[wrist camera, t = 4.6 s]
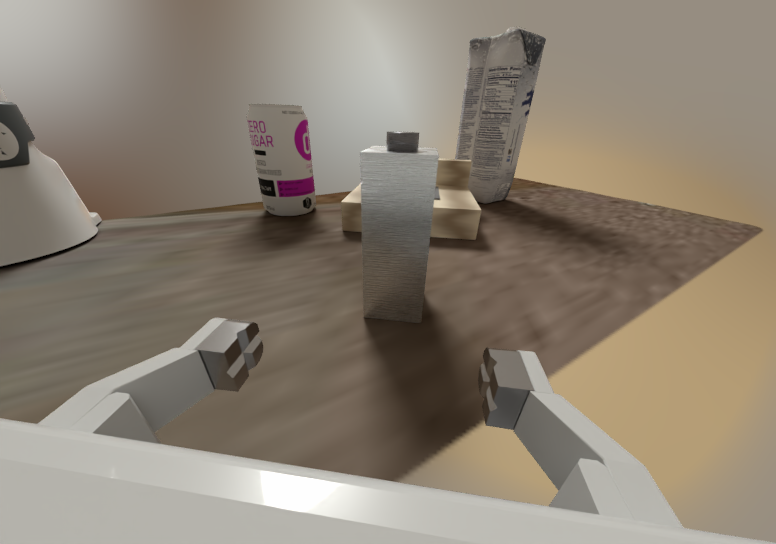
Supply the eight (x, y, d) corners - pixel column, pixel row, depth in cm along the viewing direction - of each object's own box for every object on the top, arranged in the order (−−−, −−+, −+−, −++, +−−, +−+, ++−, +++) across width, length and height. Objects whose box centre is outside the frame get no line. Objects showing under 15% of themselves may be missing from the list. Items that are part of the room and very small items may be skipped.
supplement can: (322, 204, 50) (313, 107, 42) (306, 218, 42) (292, 104, 35) (278, 202, 50) (262, 105, 43) (255, 216, 43) (231, 103, 36)
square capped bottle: (363, 317, 22) (359, 132, 15) (373, 287, 26) (373, 130, 19) (420, 323, 21) (440, 135, 15) (422, 291, 25) (438, 132, 19)
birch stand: (342, 230, 38) (339, 169, 34) (365, 201, 52) (364, 155, 48) (475, 240, 36) (487, 176, 33) (462, 206, 50) (470, 159, 47)
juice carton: (486, 206, 51) (525, 11, 38) (444, 194, 58) (464, 28, 45) (513, 200, 56) (556, 24, 43) (471, 190, 63) (497, 37, 50)
